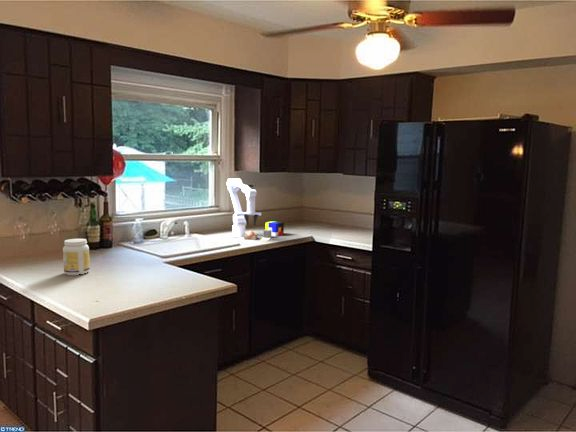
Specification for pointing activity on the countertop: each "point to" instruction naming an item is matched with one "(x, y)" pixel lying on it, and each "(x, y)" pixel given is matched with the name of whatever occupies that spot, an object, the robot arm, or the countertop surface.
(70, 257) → the supplement tub
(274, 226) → the puzzle toy
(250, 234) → the dome
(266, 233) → the block
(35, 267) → the countertop surface
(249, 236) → the collar
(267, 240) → the board
